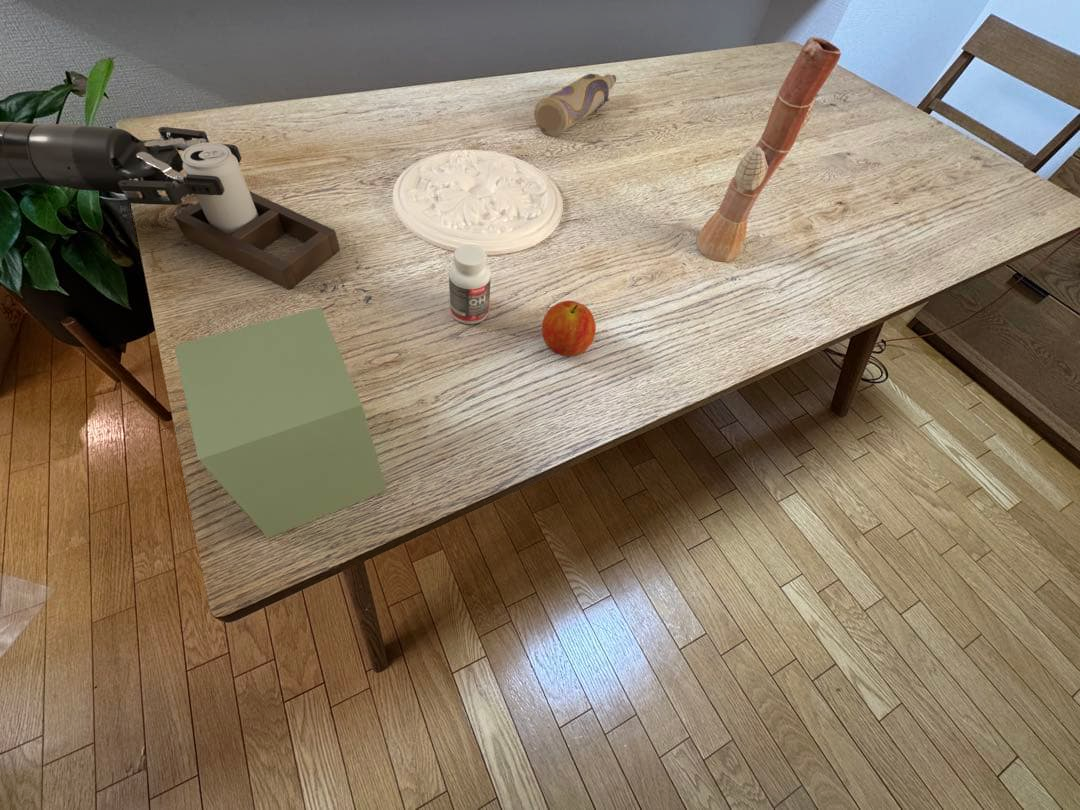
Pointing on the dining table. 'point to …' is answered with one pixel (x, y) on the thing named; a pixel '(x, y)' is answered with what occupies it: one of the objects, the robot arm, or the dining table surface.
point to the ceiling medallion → (477, 201)
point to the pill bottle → (469, 285)
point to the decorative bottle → (572, 103)
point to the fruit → (568, 328)
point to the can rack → (265, 241)
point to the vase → (768, 149)
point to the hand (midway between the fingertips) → (230, 169)
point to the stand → (279, 420)
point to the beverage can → (236, 199)
